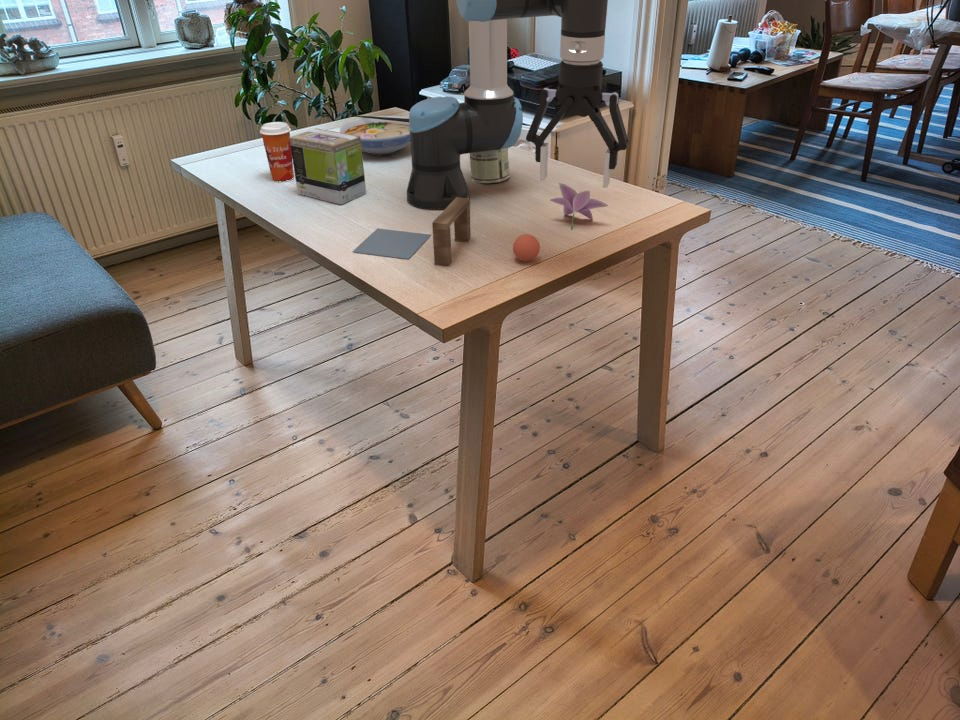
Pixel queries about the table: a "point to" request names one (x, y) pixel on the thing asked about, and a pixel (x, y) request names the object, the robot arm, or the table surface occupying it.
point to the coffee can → (489, 166)
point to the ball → (526, 247)
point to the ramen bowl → (379, 133)
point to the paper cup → (278, 150)
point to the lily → (577, 202)
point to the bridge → (441, 229)
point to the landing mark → (392, 243)
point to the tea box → (328, 165)
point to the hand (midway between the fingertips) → (574, 182)
